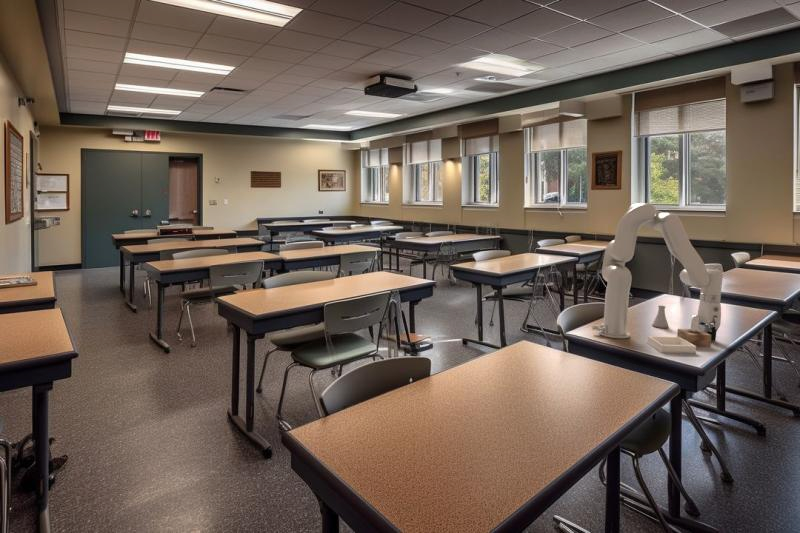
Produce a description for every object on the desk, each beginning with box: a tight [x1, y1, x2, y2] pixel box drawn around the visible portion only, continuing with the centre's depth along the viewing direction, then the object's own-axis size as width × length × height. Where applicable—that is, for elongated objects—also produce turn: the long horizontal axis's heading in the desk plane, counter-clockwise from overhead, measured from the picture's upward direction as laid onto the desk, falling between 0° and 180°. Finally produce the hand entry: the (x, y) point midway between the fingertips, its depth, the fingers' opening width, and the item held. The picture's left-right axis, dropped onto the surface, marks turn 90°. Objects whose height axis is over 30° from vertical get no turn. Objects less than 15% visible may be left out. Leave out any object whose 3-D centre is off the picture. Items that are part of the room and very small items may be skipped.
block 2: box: [698, 324, 713, 333], centre depth 210 cm, size 5×5×6 cm
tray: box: [646, 335, 697, 355], centre depth 197 cm, size 13×13×3 cm
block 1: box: [676, 328, 712, 348], centre depth 204 cm, size 9×9×5 cm
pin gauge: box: [690, 314, 700, 333], centre depth 204 cm, size 3×3×12 cm
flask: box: [651, 305, 670, 329], centre depth 231 cm, size 7×7×10 cm
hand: (706, 337), depth 211 cm, fingers open, 6 cm apart
